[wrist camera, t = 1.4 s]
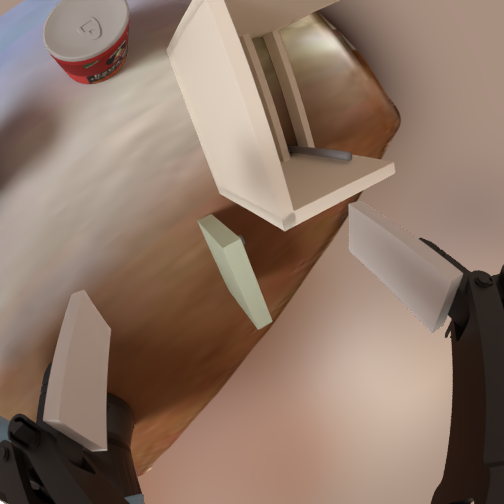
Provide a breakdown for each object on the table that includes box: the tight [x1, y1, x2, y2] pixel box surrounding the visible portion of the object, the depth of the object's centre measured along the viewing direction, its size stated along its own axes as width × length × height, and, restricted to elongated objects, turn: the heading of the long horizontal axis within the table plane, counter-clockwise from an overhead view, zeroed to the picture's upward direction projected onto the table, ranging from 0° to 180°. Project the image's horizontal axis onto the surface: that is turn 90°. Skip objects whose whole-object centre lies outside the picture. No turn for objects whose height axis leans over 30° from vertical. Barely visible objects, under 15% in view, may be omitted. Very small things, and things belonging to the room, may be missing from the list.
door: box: [198, 214, 272, 330], centre depth 34 cm, size 12×3×10 cm, turn 19°
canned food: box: [43, 0, 129, 84], centre depth 17 cm, size 8×8×11 cm
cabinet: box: [166, 0, 395, 231], centre depth 25 cm, size 20×14×16 cm
